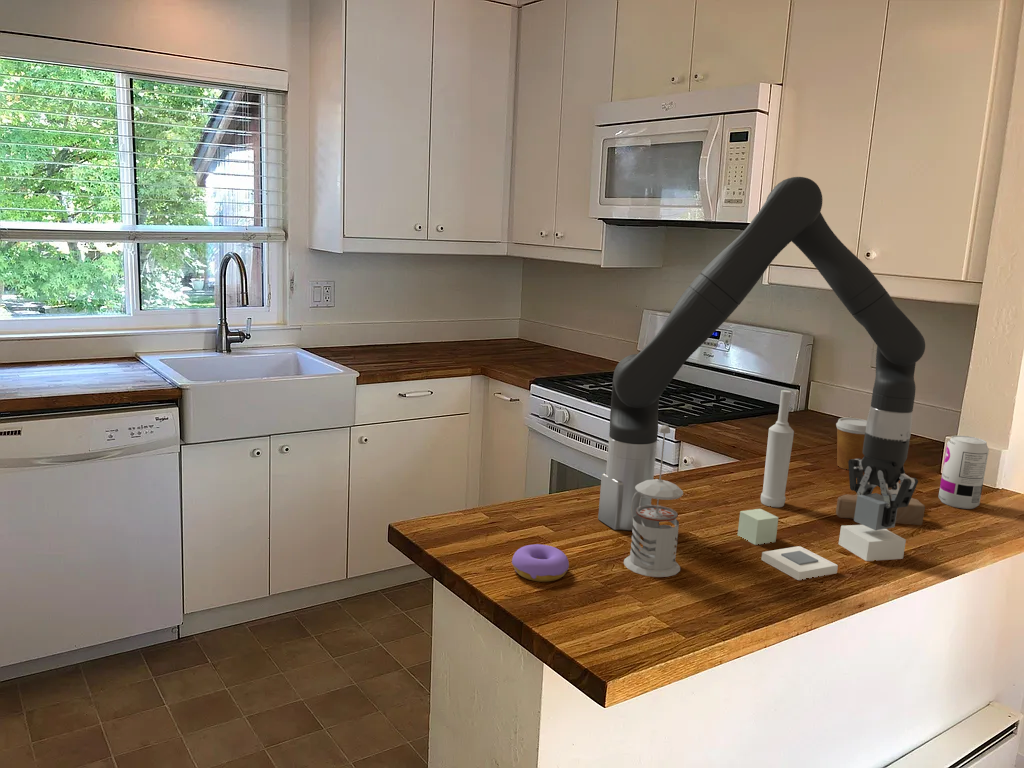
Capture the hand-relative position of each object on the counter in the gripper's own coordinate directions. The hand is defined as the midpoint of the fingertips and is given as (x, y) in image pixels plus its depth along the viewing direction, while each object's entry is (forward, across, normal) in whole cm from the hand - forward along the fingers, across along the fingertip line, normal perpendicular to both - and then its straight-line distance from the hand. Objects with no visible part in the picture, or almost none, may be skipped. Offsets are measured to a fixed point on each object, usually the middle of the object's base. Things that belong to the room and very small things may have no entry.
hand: (874, 520), depth 155 cm
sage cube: (+6, -12, -17) cm, 22 cm away
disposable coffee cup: (+6, -43, +42) cm, 60 cm away
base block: (+6, 0, 0) cm, 6 cm away
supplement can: (+6, -14, +44) cm, 47 cm away
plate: (+6, +1, -19) cm, 20 cm away
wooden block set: (+7, -18, +20) cm, 28 cm away
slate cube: (+1, 0, 0) cm, 1 cm away
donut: (+7, -12, -64) cm, 65 cm away
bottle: (+6, -27, +1) cm, 28 cm away
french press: (+6, -9, -44) cm, 45 cm away
